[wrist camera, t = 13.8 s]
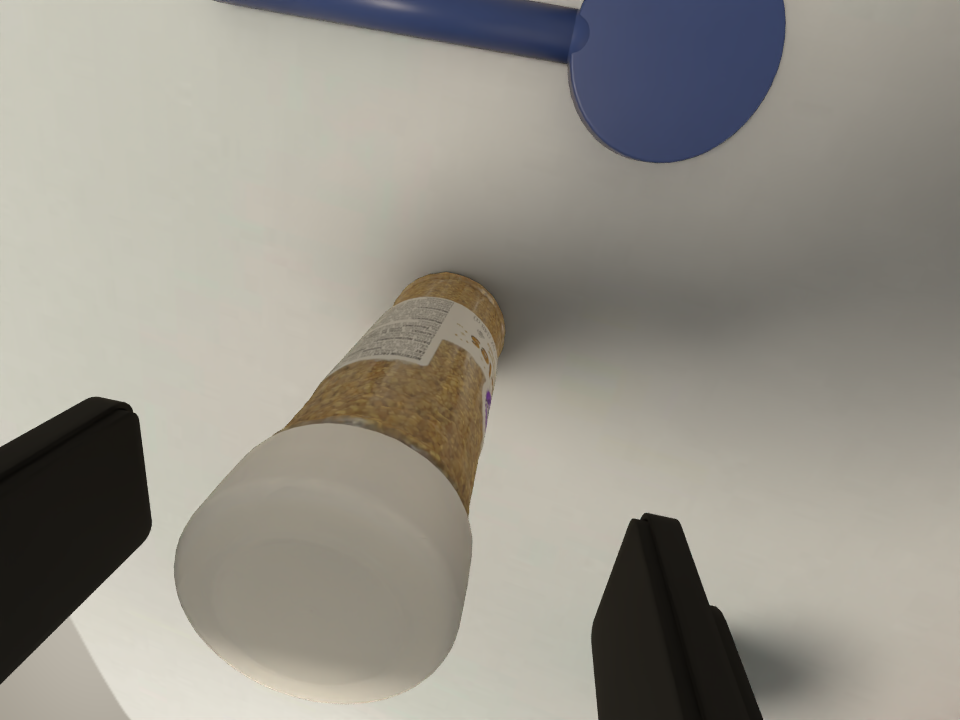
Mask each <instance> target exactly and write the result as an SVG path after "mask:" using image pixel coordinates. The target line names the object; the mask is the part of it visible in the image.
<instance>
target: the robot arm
mask: <svg viewBox="0 0 960 720" xmlns="http://www.w3.org/2000/svg"><path fill="white" fill-rule="evenodd" d="M151 526H152V519H151V511H150V503H149V495H148V487H147V479H146V471H145V463H144V455H143V447H142V439H141V431H140V423H139V418H138V416H137V414H136V413H133V410H132V408H131V406H130V405H129V404H127V403H125V402H120V401H115V400H111V399H106V398H101V397H91V398H88V399H86V400H84V401H82V402H80V403H79V404H77V405H75V406H73V407H71V408H70V409H68V410H66V411H64V412H62V413H61V414H59V415H57V416H55V417H53V418H52V419H50V420H48V421H46V422H44V423H43V424H41V425H39V426H37V427H35V428H34V429H32V430H30V431H28V432H26V433H25V434H23V435H21V436H19V437H18V438H16V439H14V440H12V441H10V442H9V443H7V444H5V445H3V446H1V447H0V684H1V683H2V682H3V681H4V680H5V679H6V678H7V677H8V676H9V675H10V674H11V673H12V672H13V671H14V670H15V669H16V668H17V667H18V666H19V665H20V664H21V663H22V662H23V661H24V660H25V659H26V658H27V657H28V656H29V655H30V654H31V653H32V652H33V651H34V650H36V648H38V647H39V646H40V644H41V643H43V642H44V641H45V640H46V639H47V638H48V636H50V635H51V634H52V632H54V631H55V630H56V629H57V628H58V627H59V626H60V625H61V624H62V623H63V622H64V621H65V619H67V618H68V617H69V616H70V615H71V614H72V613H73V612H74V611H75V610H76V609H77V608H78V607H79V606H80V605H81V604H82V603H83V602H84V601H85V600H86V599H87V598H88V597H89V596H90V595H91V594H92V593H93V592H94V591H95V590H96V589H97V588H98V587H99V586H100V585H101V584H102V583H103V582H104V581H105V580H106V579H107V578H108V577H109V576H110V575H111V574H112V573H113V572H114V571H115V570H116V569H117V568H118V567H119V566H120V565H121V564H122V563H123V562H124V561H125V560H126V559H127V558H128V557H129V556H130V555H131V554H132V553H133V552H134V551H135V550H136V549H137V548H138V547H139V546H140V545H141V544H142V543H143V542H144V541H145V540H146V538H147V537H148V535H149V533H150V530H151ZM591 643H592V654H593V665H594V676H595V687H596V698H597V709H598V720H763V718H762V715H761V712H760V710H759V707H758V704H757V702H756V699H755V696H754V694H753V691H752V688H751V686H750V683H749V680H748V678H747V675H746V673H745V670H744V667H743V665H742V662H741V659H740V657H739V654H738V651H737V649H736V646H735V643H734V641H733V638H732V635H731V633H730V630H729V627H728V625H727V622H726V620H725V618H724V616H723V614H722V612H721V611H720V610H719V609H718V608H717V607H716V606H711V605H709V603H708V600H707V597H706V594H705V592H704V589H703V586H702V583H701V580H700V577H699V575H698V572H697V569H696V566H695V563H694V560H693V558H692V555H691V552H690V549H689V546H688V543H687V541H686V538H685V535H684V532H683V529H682V527H681V524H680V522H679V521H678V520H677V519H673V518H669V517H664V516H659V515H654V514H650V513H644V514H643V515H642V517H641V519H640V520H638V519H632V520H631V521H630V523H629V526H628V528H627V531H626V534H625V536H624V539H623V542H622V545H621V547H620V550H619V553H618V556H617V558H616V561H615V564H614V566H613V569H612V572H611V575H610V577H609V580H608V583H607V586H606V588H605V591H604V594H603V596H602V599H601V602H600V605H599V607H598V610H597V613H596V616H595V618H594V622H593V626H592V634H591Z"/></svg>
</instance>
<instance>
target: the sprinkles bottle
mask: <svg viewBox="0 0 960 720" xmlns="http://www.w3.org/2000/svg"><path fill="white" fill-rule="evenodd" d="M504 337H505V325H504V320H503V315H502V312H501V310H500V308H499V306H498V304H497V302H496V301H495V299H494V297H493V296H492V295H491V294H490V293H489V292H488V291H487V290H486V289H485V288H484V287H483V286H482V285H480V284H479V283H477V282H475V281H473V280H471V279H469V278H467V277H464V276H461V275H459V274H453V273H448V272H443V273H438V274H430V275H426V276H424V277H421V278H418V279H417V280H415V281H414V282H412V283H411V284H409V285H408V286H407V287H406V288H405V289H404V290H403V291H402V293H401V295H400V296H399V297H398V298H397V299H396V301H395V303H394V306H393V307H392V308H390V309H389V310H388V311H387V312H385V313H384V314H383V315H382V316H381V317H380V318H379V319H378V320H377V322H376V323H375V324H374V325H373V326H372V327H371V328H370V329H369V330H368V331H367V333H366V334H365V335H364V336H363V337H362V338H361V339H360V340H359V341H358V343H357V344H356V345H355V346H354V347H353V348H352V349H351V350H350V351H349V352H348V353H347V354H346V356H345V357H344V358H343V359H342V360H341V361H340V362H339V363H338V364H337V365H336V366H335V368H334V369H333V370H332V371H331V372H330V373H329V374H328V375H327V376H326V377H325V379H324V380H323V381H322V382H321V383H320V385H319V386H318V387H317V389H316V390H315V392H314V393H313V395H312V397H311V398H310V399H309V401H308V402H307V403H306V404H305V405H304V407H303V408H302V409H301V410H300V411H299V412H298V413H297V414H296V415H295V416H294V418H293V419H292V420H291V421H290V422H289V423H288V424H287V425H286V426H285V428H284V429H282V430H280V431H278V432H277V433H275V434H274V435H273V436H272V437H270V438H268V439H267V440H265V441H264V442H262V443H261V444H259V445H258V446H256V447H255V448H253V449H252V450H251V451H250V452H249V453H248V454H247V455H246V456H245V457H244V458H243V459H242V460H241V461H240V462H239V463H238V464H237V465H236V466H235V467H234V469H233V470H232V471H231V472H230V473H229V474H228V475H227V476H226V477H225V478H224V479H223V481H222V482H221V483H220V484H219V485H218V486H217V487H216V489H215V490H214V491H213V492H212V493H211V494H210V495H209V497H208V498H207V499H206V500H205V501H204V502H203V503H202V505H201V506H200V507H199V508H198V509H197V510H196V511H195V513H194V514H193V515H192V517H191V518H190V520H189V522H188V523H187V525H186V526H185V528H184V530H183V532H182V534H181V536H180V538H179V542H178V546H177V549H176V555H175V563H174V578H175V585H176V589H177V594H178V597H179V600H180V603H181V606H182V608H183V610H184V612H185V614H186V616H187V618H188V620H189V622H190V623H191V625H192V626H193V628H194V629H195V631H196V632H197V634H198V635H199V636H200V637H201V638H202V640H203V641H204V642H205V643H206V644H207V645H208V646H209V647H210V648H211V649H212V650H213V651H214V652H215V653H216V654H217V655H218V656H219V657H220V658H222V659H223V660H224V661H225V662H226V663H228V664H229V665H230V666H231V667H233V668H234V669H236V670H237V671H239V672H240V673H242V674H243V675H245V676H246V677H248V678H250V679H252V680H254V681H255V682H257V683H259V684H261V685H263V686H266V687H268V688H270V689H272V690H275V691H278V692H281V693H284V694H287V695H290V696H293V697H297V698H301V699H305V700H309V701H314V702H323V703H333V704H359V703H368V702H374V701H379V700H383V699H387V698H390V697H393V696H396V695H399V694H401V693H403V692H406V691H408V690H410V689H412V688H413V687H415V686H417V685H418V684H420V683H421V682H422V681H424V680H425V679H426V678H428V677H429V676H430V675H431V674H432V673H433V672H434V671H435V670H436V669H437V668H438V667H439V666H440V664H441V663H442V662H443V661H444V659H445V658H446V656H447V655H448V653H449V651H450V650H451V648H452V646H453V644H454V641H455V639H456V636H457V633H458V629H459V625H460V621H461V616H462V611H463V606H464V600H465V595H466V590H467V585H468V578H469V571H470V564H471V557H472V534H471V528H470V524H469V520H468V515H469V505H470V499H471V495H472V490H473V485H474V479H475V474H476V469H477V464H478V459H479V456H480V453H481V450H482V447H483V443H484V437H485V431H486V426H487V420H488V414H489V409H490V404H491V399H492V394H493V390H494V385H495V380H496V374H497V362H498V357H499V355H500V353H501V351H502V349H503V345H504Z"/></svg>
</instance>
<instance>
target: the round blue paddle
mask: <svg viewBox="0 0 960 720" xmlns="http://www.w3.org/2000/svg"><path fill="white" fill-rule="evenodd" d="M214 1H217V2H222V3H227V4H233V5H239V6H244V7H250V8H255V9H261V10H267V11H272V12H278V13H284V14H289V15H295V16H300V17H306V18H312V19H317V20H323V21H328V22H334V23H340V24H345V25H351V26H356V27H362V28H368V29H373V30H379V31H385V32H390V33H396V34H401V35H407V36H413V37H418V38H424V39H429V40H435V41H441V42H446V43H452V44H458V45H463V46H469V47H474V48H480V49H486V50H491V51H497V52H502V53H508V54H514V55H519V56H525V57H531V58H536V59H542V60H547V61H553V62H559V63H564V64H568V80H569V87H570V92H571V97H572V100H573V102H574V105H575V108H576V111H577V113H578V115H579V117H580V119H581V121H582V122H583V123H584V125H585V126H586V128H587V129H588V131H589V132H590V133H591V134H592V135H593V136H594V137H595V138H596V140H598V141H599V142H600V143H601V144H602V145H604V146H605V147H606V148H608V149H610V150H611V151H613V152H615V153H616V154H619V155H621V156H624V157H626V158H629V159H633V160H637V161H643V162H652V163H671V162H677V161H683V160H686V159H690V158H693V157H696V156H699V155H701V154H703V153H705V152H708V151H710V150H711V149H713V148H715V147H717V146H718V145H720V144H722V143H723V142H724V141H726V140H727V139H728V138H730V137H731V136H732V135H734V134H735V133H736V132H737V131H738V130H739V129H740V128H741V127H742V126H743V125H744V124H745V123H746V122H747V121H748V120H749V118H750V117H751V116H752V115H753V114H754V113H755V111H756V110H757V108H758V107H759V105H760V104H761V103H762V101H763V100H764V98H765V96H766V94H767V92H768V90H769V89H770V87H771V85H772V82H773V80H774V78H775V75H776V73H777V70H778V67H779V63H780V60H781V57H782V52H783V46H784V40H785V25H786V21H785V7H784V2H783V0H584V1H583V3H582V6H581V8H580V10H579V9H575V8H569V7H564V6H558V5H552V4H546V3H541V2H535V1H529V0H214Z"/></svg>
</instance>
